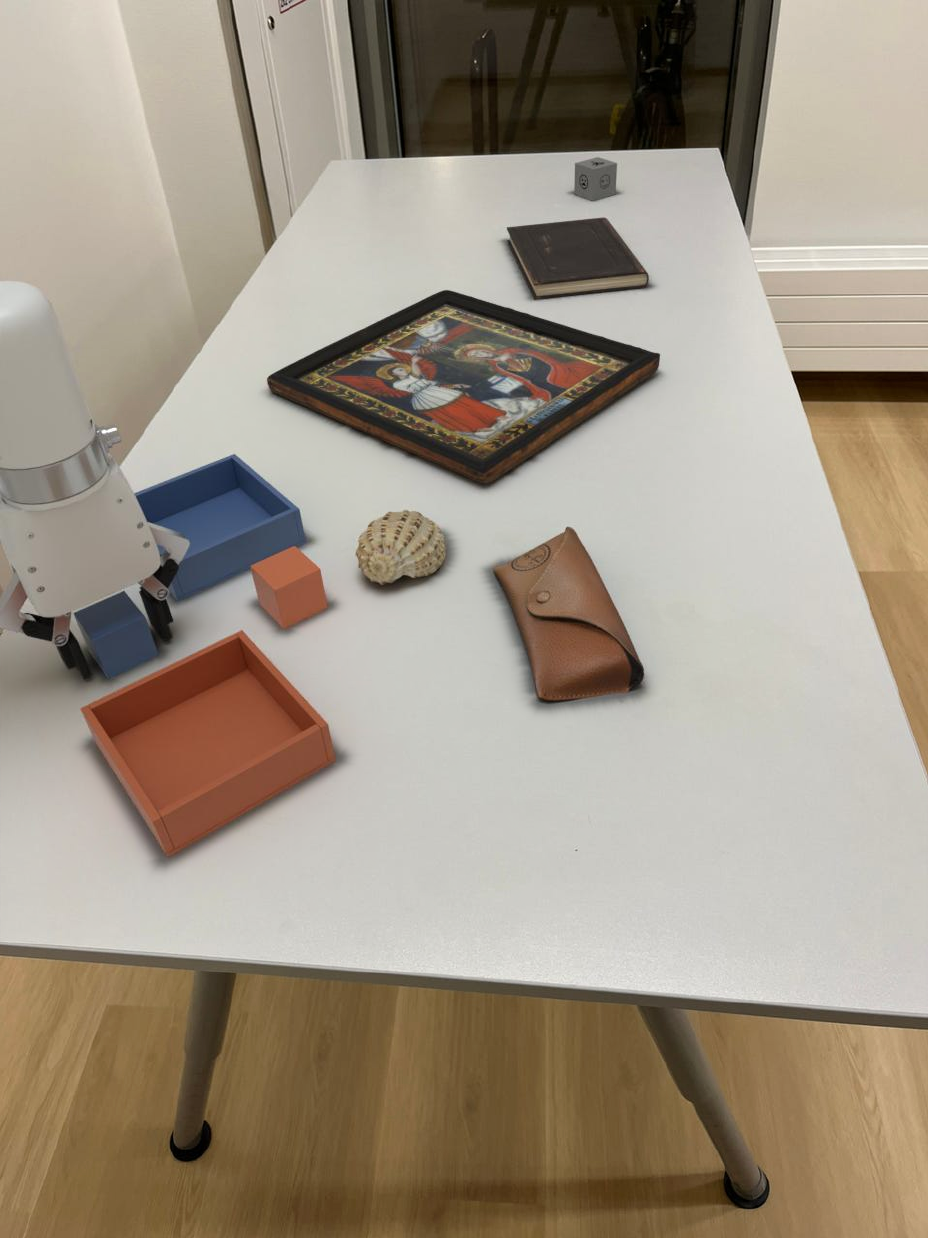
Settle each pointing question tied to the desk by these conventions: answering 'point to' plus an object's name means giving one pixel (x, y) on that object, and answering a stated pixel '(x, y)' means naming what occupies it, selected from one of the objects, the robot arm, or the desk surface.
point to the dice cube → (595, 178)
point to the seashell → (400, 547)
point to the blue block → (116, 634)
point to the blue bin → (221, 521)
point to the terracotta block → (289, 587)
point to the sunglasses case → (569, 622)
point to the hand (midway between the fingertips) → (122, 648)
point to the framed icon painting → (465, 381)
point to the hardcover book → (575, 258)
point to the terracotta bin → (208, 739)
